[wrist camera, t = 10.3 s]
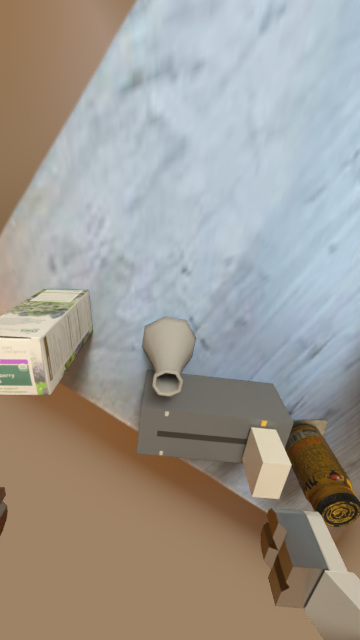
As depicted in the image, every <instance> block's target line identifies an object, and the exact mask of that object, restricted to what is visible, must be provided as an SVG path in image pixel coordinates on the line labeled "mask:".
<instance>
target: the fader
mask: <svg viewBox="0 0 360 640" xmlns="http://www.w3.org/2000/svg"><path fill="white" fill-rule="evenodd" d="M242 460H243V464H244V468H245V472H246V476H247V479H248V483H249V487H250V491H251V495H252V497H261V498H273V499H279V498H280V495H281V492H282V490H283V487H284V484H285V482H286V479H287V476H288V474H289V471H290V468H291V466H292V465H291V462H290V460H289V458H288V456H287V453H286V451H285V449H284V446H283V444H282V442H281V440H280V437H279V435H278V433H277V431H276V430H274V429H264V428H254V427H251V430H250V433H249V437H248V440H247V444H246V447H245V451H244V454H243V458H242Z"/></svg>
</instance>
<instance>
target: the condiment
mask: <svg viewBox="0 0 360 640" xmlns="http://www.w3.org/2000/svg"><path fill="white" fill-rule="evenodd" d="M327 421H328V420H301V421H299V420H298V421H293V422H294V423H293V426H292V429H291V432H290V435H289V438H288V440H287V443H286V446H285V451H286V453H287V456H288V458H289V460H290V462H291V465H292V467H293V470H294V472H295V474H296V476H297V479H298V481H299V484H300V486H301V488H302V490H303V492H304V495H305V497H306V499H307V500H308V501H309V502H310V503H311V504H312V506H313V509H314V510H315V511H316V512H318V513H319V514H320V515H321V516H322V518H323V520H324V522H325V524H326V525H328V526H332V527H340V526H345V525H348V524H350V523H352V522H353V521H355V520H356V519H357V518H358V517H359V515H360V502H359V500H358V499H357V497H356V496H355V493H354V491H353V490H352V484H351V482H350V480H349V478H348V476H347V475H346V473H345V471H344V469H343V468H342V467H341V465H340V464H339V462H338V460H337V459H336V457H335V455H334V453H333V452H332V450H331V449H330V447H329V445H328V444H327V443H326V441H325V439H324V438H323V435H324V431H325V429H326V425H327Z"/></svg>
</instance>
